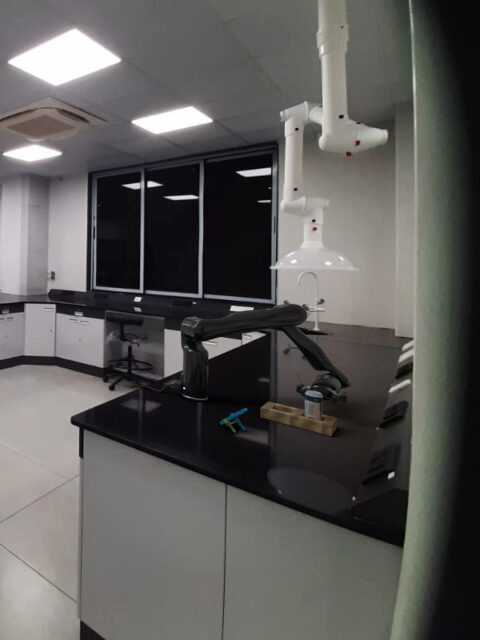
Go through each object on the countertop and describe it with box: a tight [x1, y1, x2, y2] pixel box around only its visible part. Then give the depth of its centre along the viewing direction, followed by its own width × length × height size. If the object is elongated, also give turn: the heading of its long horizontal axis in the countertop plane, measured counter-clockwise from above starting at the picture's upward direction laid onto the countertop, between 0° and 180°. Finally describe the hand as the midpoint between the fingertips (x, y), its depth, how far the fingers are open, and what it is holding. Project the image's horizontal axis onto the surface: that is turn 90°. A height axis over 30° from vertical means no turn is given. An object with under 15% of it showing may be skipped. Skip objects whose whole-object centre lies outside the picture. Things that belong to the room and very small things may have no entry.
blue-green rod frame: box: [219, 407, 249, 433], centre depth 135 cm, size 11×6×10 cm
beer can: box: [304, 390, 324, 421], centre depth 140 cm, size 5×5×12 cm
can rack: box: [259, 401, 338, 437], centre depth 143 cm, size 20×11×4 cm, turn 41°
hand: (318, 396), depth 145 cm, fingers open, 8 cm apart
